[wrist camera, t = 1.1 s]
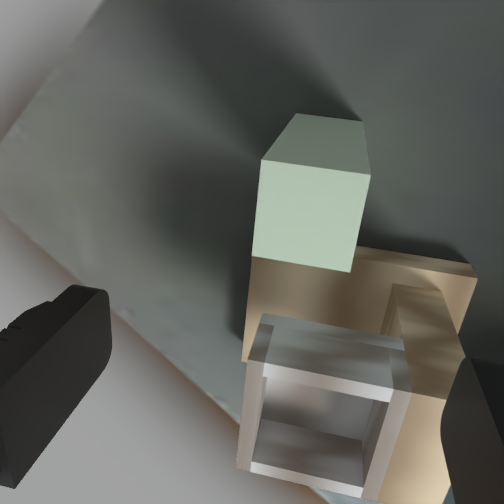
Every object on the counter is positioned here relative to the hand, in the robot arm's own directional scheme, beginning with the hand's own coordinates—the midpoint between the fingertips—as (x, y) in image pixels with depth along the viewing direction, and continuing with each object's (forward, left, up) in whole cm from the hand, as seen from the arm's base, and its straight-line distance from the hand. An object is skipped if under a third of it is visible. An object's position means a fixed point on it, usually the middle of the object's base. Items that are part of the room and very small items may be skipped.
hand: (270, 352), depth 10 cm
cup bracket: (-4, +11, -20) cm, 23 cm away
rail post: (0, 0, -20) cm, 20 cm away
